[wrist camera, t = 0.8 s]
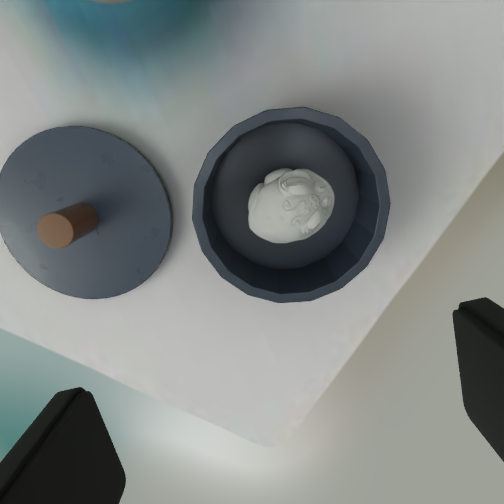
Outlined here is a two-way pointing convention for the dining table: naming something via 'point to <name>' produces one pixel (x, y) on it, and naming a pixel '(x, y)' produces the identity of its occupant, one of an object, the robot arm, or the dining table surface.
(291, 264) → the pot
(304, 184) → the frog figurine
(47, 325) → the dining table surface
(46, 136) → the lid
